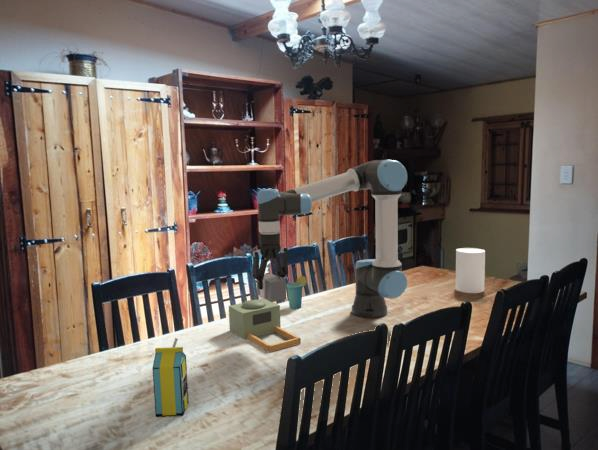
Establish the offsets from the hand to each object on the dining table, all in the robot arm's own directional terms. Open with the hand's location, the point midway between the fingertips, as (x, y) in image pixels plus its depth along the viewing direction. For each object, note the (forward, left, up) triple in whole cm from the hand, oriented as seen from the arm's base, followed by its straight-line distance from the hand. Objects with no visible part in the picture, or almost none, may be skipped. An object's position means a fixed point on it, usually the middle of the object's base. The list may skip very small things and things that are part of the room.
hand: (271, 295), depth 166 cm
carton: (+46, +26, -17) cm, 55 cm away
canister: (-114, +2, -17) cm, 115 cm away
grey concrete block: (0, 0, 0) cm, 0 cm away
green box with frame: (0, -6, -17) cm, 18 cm away
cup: (-28, -28, -17) cm, 43 cm away
